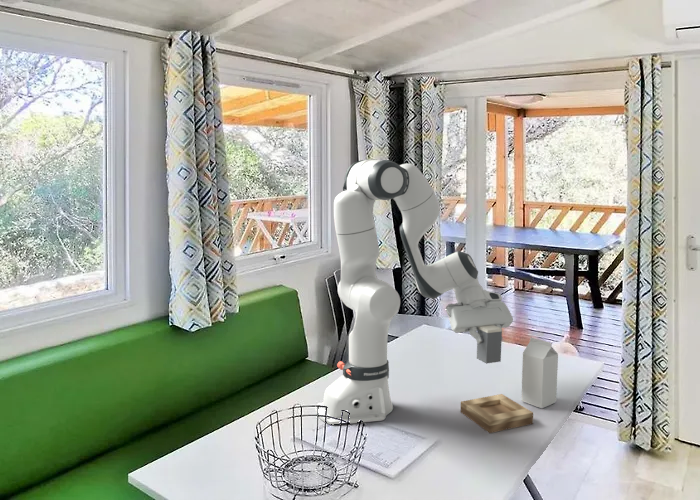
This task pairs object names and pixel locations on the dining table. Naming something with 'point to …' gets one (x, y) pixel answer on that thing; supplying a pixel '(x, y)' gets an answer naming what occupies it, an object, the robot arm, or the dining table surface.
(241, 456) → the dining table surface
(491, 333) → the plain greyish beige box
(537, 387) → the milk carton
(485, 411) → the square wooden tray
